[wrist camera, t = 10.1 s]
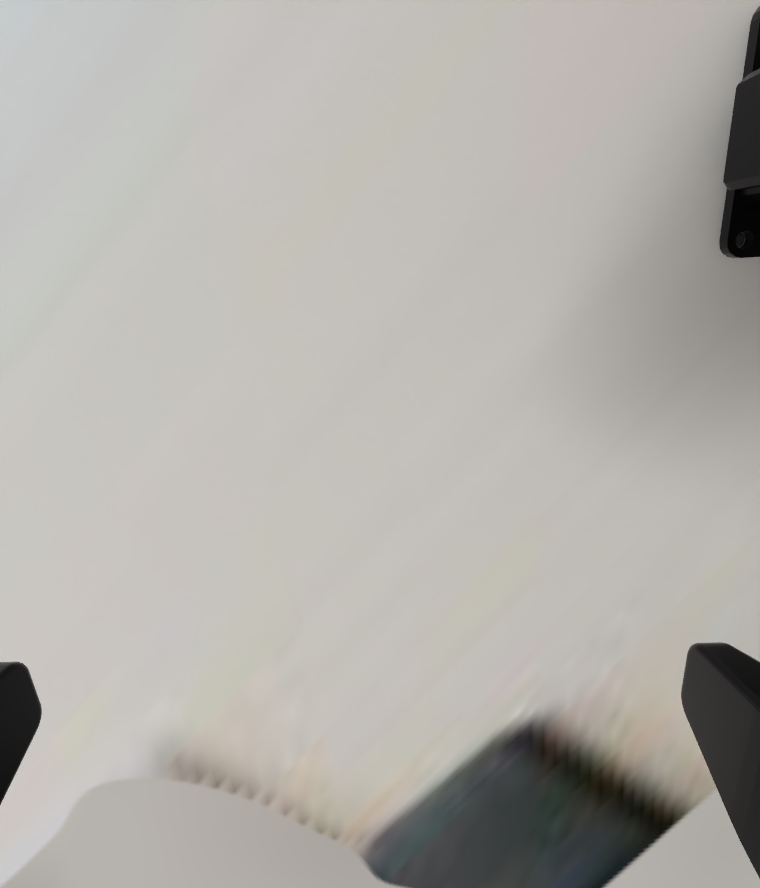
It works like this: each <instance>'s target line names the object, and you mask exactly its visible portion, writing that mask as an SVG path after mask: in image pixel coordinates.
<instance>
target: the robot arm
mask: <svg viewBox="0 0 760 888" xmlns="http://www.w3.org/2000/svg"><path fill="white" fill-rule="evenodd" d="M724 183H725V185H726V187H727V193H726V200H725V207H724V214H723V221H722V228H721V235H720V249H721V251H722V253H723V254H724V255H726V256H727V257H732V258H745V257H760V6H759V7H758V9H757V10H756V12H755V13H754V15H753V18H752V21H751V25H750V32H749V39H748V46H747V53H746V60H745V67H744V74H743V80H742V81H741V82H740V83H739V84H738V86H737V88H736V94H735V101H734V108H733V116H732V123H731V130H730V137H729V144H728V151H727V158H726V166H725V173H724ZM741 232H742V233H743V234H744V235H745V242H744V244H743V245H742V246H741V247H740V248H738V247H737V245H736V238H737V236H738V235H739V234H740V233H741ZM681 698H682V705H683V708H684V712H685V714H686V717H687V719H688V721H689V724H690V726H691V728H692V731H693V733H694V735H695V738H696V740H697V742H698V745H699V747H700V749H701V752H702V754H703V756H704V759H705V761H706V763H707V766H708V768H709V770H710V773H711V775H712V777H713V780H714V782H715V784H716V787H717V789H718V791H719V794H720V796H721V798H722V801H723V803H724V805H725V808H726V810H727V812H728V815H729V817H730V819H731V822H732V824H733V826H734V828H735V830H736V833H737V835H738V837H739V839H740V841H741V843H742V845H743V847H744V849H745V851H746V853H747V855H748V857H749V859H750V861H751V863H752V864H753V867H754V868H755V870H756V872H757V874H758V876H759V878H760V662H759V661H757V660H755V659H754V658H752V657H750V656H748V655H747V654H745V653H743V652H741V651H740V650H738V649H736V648H734V647H733V646H731V645H729V644H726V643H696V644H694V645H692V646H691V647H690V648H689V650H688V654H687V660H686V666H685V672H684V678H683V684H682V691H681ZM41 714H42V710H41V704H40V701H39V698H38V695H37V693H36V690H35V687H34V684H33V681H32V678H31V676H30V673H29V670H28V668H27V667H26V666H25V665H24V664H23V663H20V662H0V805H1V802H2V800H3V798H4V796H5V794H6V792H7V790H8V788H9V786H10V784H11V782H12V780H13V778H14V776H15V774H16V772H17V770H18V768H19V766H20V763H21V761H22V759H23V757H24V755H25V753H26V751H27V749H28V747H29V745H30V743H31V741H32V739H33V737H34V735H35V733H36V731H37V729H38V726H39V723H40V720H41Z"/></svg>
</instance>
